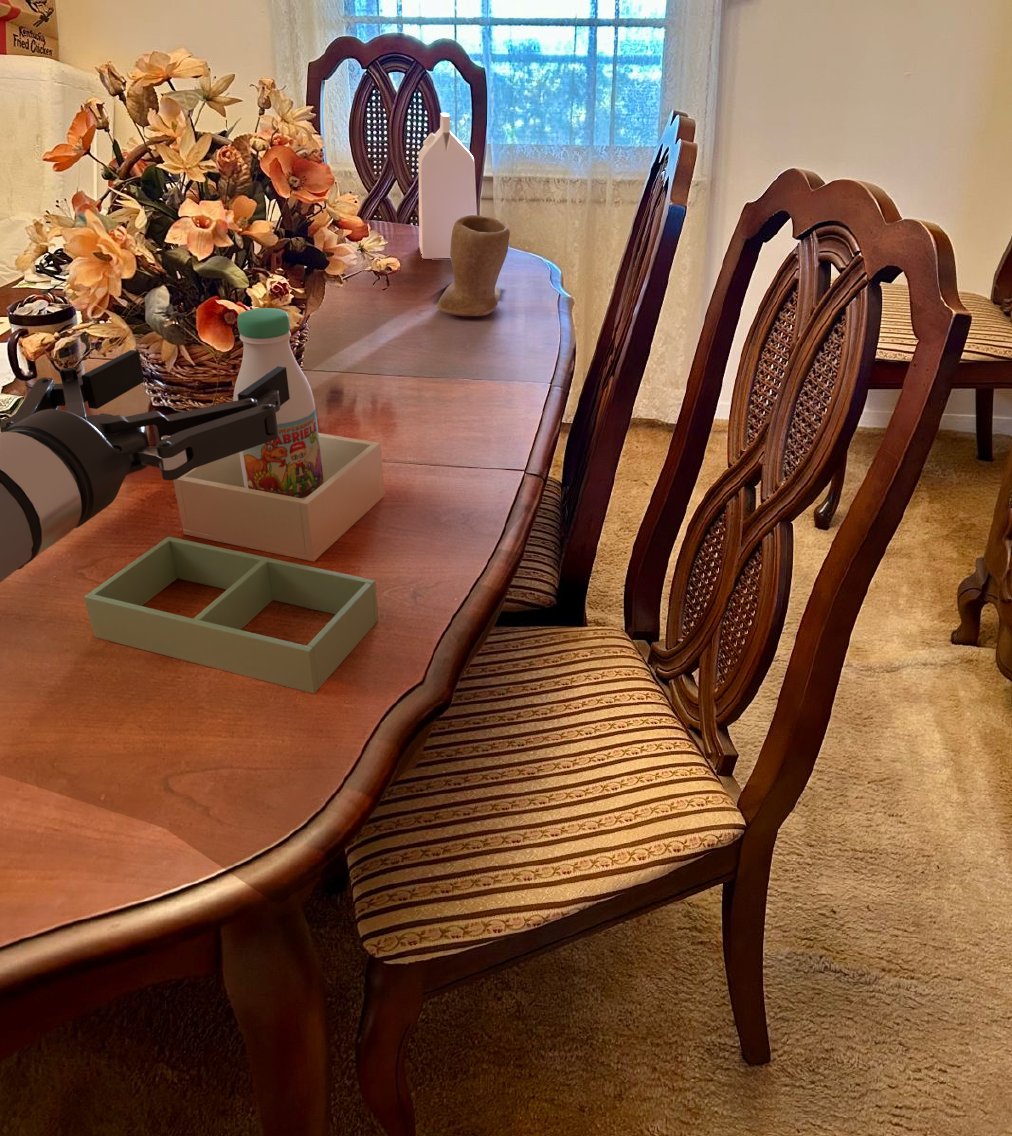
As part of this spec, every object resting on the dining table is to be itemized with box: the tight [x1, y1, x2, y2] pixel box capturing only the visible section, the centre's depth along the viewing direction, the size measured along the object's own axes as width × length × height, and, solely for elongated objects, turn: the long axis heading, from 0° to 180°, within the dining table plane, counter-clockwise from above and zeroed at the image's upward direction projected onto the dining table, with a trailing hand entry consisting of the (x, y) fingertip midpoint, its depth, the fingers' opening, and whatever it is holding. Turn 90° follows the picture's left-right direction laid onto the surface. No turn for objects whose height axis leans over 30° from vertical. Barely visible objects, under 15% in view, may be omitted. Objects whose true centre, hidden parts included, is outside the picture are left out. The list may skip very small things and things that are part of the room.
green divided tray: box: [83, 536, 379, 695], centre depth 77 cm, size 21×11×4 cm, turn 70°
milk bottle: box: [232, 307, 324, 499], centre depth 89 cm, size 8×8×20 cm
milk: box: [417, 112, 478, 258], centre depth 188 cm, size 12×12×26 cm
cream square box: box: [172, 432, 385, 563], centre depth 93 cm, size 15×15×6 cm
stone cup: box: [437, 214, 511, 317], centre depth 155 cm, size 15×12×15 cm
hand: (209, 373), depth 78 cm, fingers open, 13 cm apart
